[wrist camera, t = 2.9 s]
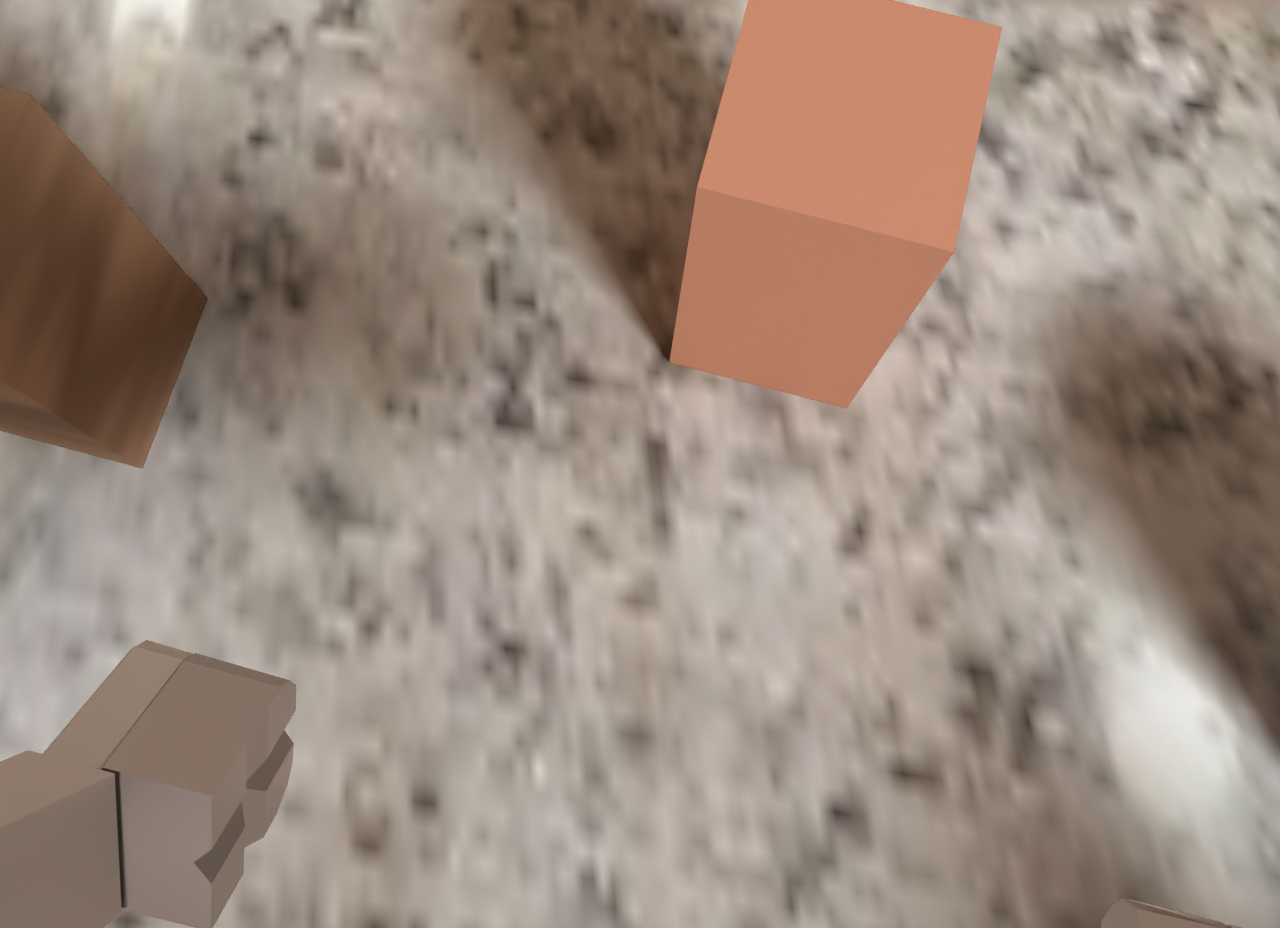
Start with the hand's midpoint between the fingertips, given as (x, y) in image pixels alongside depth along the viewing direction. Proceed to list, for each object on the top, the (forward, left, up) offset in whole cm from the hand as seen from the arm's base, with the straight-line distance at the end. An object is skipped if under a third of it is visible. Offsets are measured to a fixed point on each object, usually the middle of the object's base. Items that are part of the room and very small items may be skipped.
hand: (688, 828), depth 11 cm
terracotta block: (+10, +7, -15) cm, 19 cm away
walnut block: (-4, +16, -15) cm, 22 cm away
